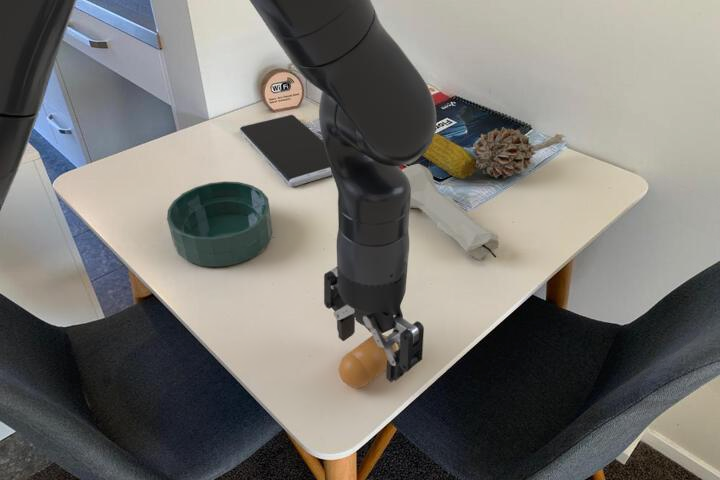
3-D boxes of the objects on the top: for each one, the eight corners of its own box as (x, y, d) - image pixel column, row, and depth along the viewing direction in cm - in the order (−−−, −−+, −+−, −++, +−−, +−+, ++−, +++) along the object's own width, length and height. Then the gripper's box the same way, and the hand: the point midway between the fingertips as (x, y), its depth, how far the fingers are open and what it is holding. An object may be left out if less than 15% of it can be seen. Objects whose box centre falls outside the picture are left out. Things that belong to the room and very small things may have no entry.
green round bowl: (173, 275, 80) (164, 245, 77) (176, 215, 93) (169, 187, 89) (277, 261, 83) (273, 231, 80) (267, 204, 96) (264, 176, 92)
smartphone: (292, 119, 123) (292, 112, 122) (351, 171, 105) (351, 163, 104) (239, 132, 117) (238, 125, 116) (291, 189, 100) (290, 181, 98)
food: (477, 178, 103) (482, 152, 100) (456, 186, 101) (460, 160, 97) (413, 136, 117) (415, 111, 113) (392, 142, 115) (394, 117, 111)
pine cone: (489, 196, 99) (498, 149, 93) (457, 173, 105) (463, 128, 99) (570, 166, 108) (583, 121, 101) (536, 146, 114) (546, 103, 108)
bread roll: (355, 401, 63) (355, 379, 61) (331, 379, 66) (331, 357, 63) (402, 363, 68) (405, 341, 65) (378, 344, 70) (380, 321, 68)
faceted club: (419, 182, 100) (515, 257, 85) (384, 204, 98) (476, 286, 83) (414, 146, 94) (518, 222, 79) (376, 170, 92) (475, 252, 76)
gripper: (302, 242, 57) (310, 339, 67) (396, 312, 49) (389, 411, 59) (352, 214, 61) (353, 310, 71) (447, 275, 53) (432, 373, 63)
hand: (369, 355), depth 65 cm, fingers open, 8 cm apart
